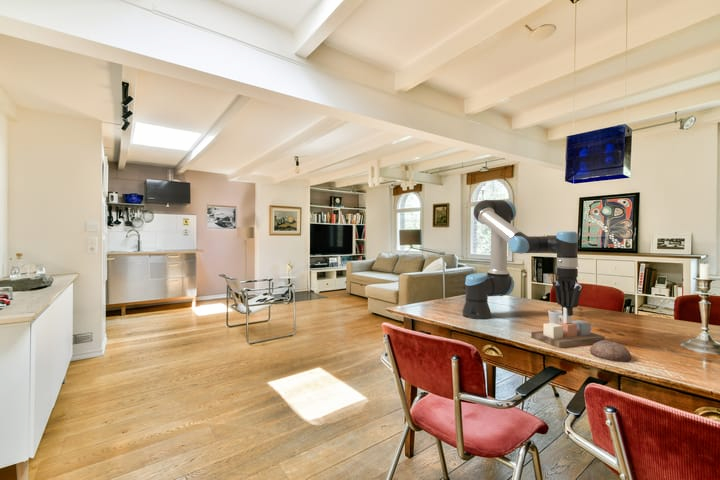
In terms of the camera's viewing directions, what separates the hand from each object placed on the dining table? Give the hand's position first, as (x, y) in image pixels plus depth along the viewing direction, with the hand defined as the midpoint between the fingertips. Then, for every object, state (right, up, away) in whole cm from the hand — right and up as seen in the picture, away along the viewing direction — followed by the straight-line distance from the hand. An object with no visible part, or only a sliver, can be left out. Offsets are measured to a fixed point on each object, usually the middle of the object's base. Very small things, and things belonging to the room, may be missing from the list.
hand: (567, 322), depth 137 cm
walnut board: (0, -7, 0) cm, 7 cm away
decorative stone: (+4, -8, -18) cm, 20 cm away
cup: (+7, -7, +17) cm, 19 cm away
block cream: (-7, -5, -2) cm, 9 cm away
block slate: (+7, -5, +2) cm, 9 cm away
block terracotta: (0, -5, 0) cm, 5 cm away
